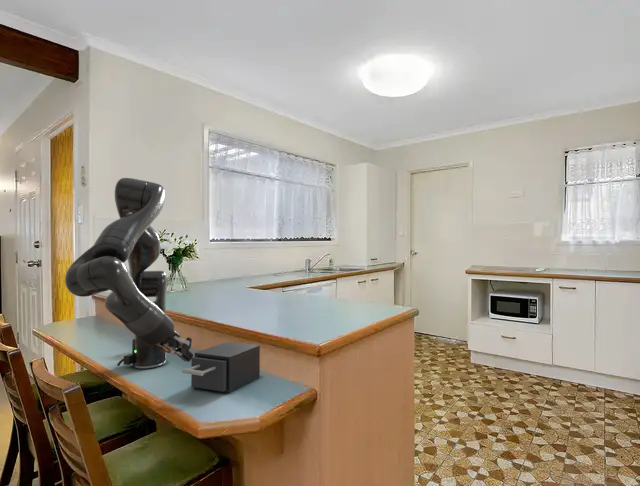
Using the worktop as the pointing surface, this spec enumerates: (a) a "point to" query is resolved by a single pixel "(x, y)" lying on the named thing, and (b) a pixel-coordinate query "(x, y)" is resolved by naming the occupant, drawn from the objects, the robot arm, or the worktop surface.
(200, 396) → the worktop surface
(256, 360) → the dark grey drawer box
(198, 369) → the dark grey drawer
